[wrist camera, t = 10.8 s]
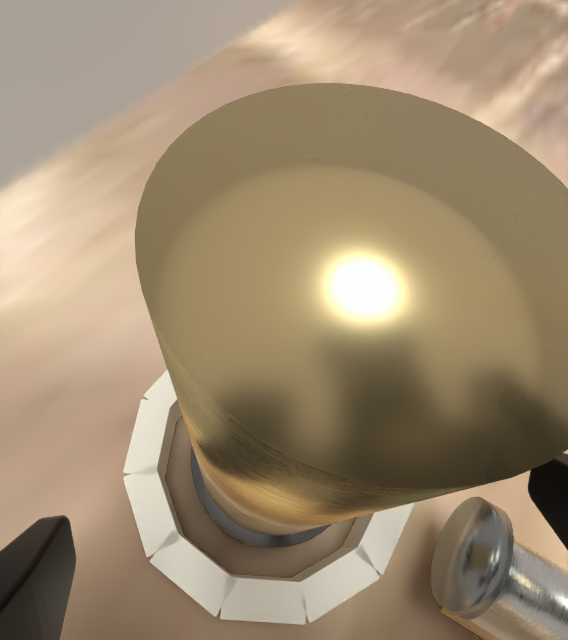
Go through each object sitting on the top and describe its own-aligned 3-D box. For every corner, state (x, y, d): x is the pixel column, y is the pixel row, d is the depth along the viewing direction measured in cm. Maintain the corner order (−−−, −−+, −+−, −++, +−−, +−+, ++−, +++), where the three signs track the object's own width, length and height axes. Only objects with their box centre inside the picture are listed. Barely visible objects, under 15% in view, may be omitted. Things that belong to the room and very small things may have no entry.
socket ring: (384, 359, 18) (401, 339, 16) (401, 622, 13) (427, 632, 12) (169, 334, 18) (163, 310, 16) (107, 602, 13) (88, 610, 11)
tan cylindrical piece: (357, 534, 15) (794, 481, 3) (198, 559, 14) (65, 601, 2) (328, 386, 17) (518, 78, 6) (192, 398, 16) (117, 59, 5)
